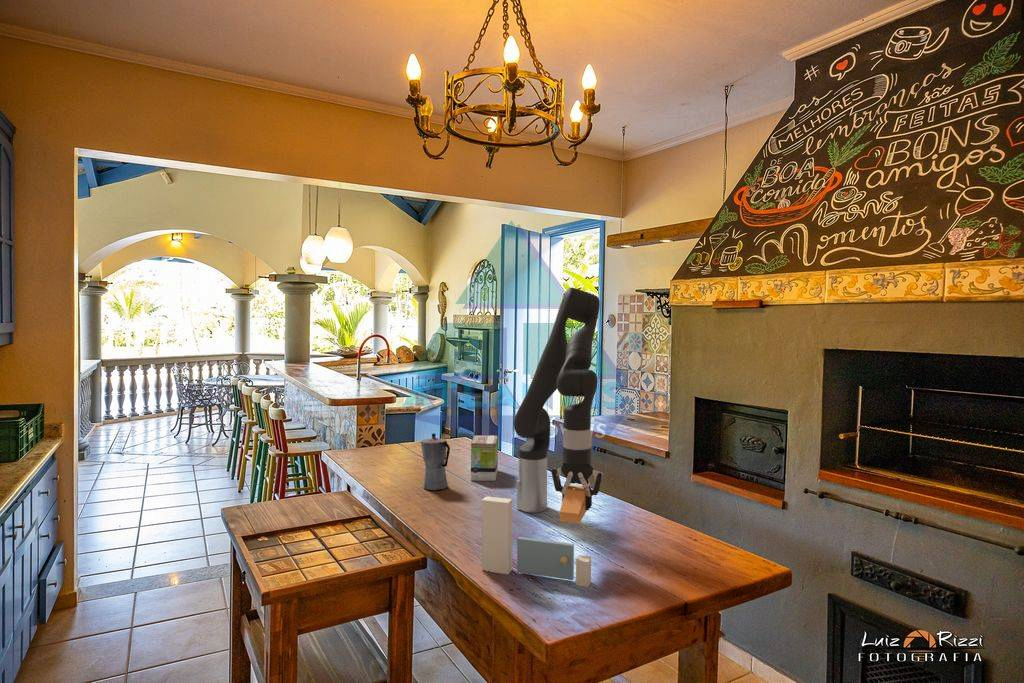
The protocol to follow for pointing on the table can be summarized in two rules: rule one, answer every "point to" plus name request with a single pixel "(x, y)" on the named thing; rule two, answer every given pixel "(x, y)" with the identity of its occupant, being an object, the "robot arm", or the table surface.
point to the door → (545, 558)
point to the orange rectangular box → (573, 505)
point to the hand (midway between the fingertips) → (577, 508)
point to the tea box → (484, 458)
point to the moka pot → (435, 462)
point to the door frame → (500, 540)
